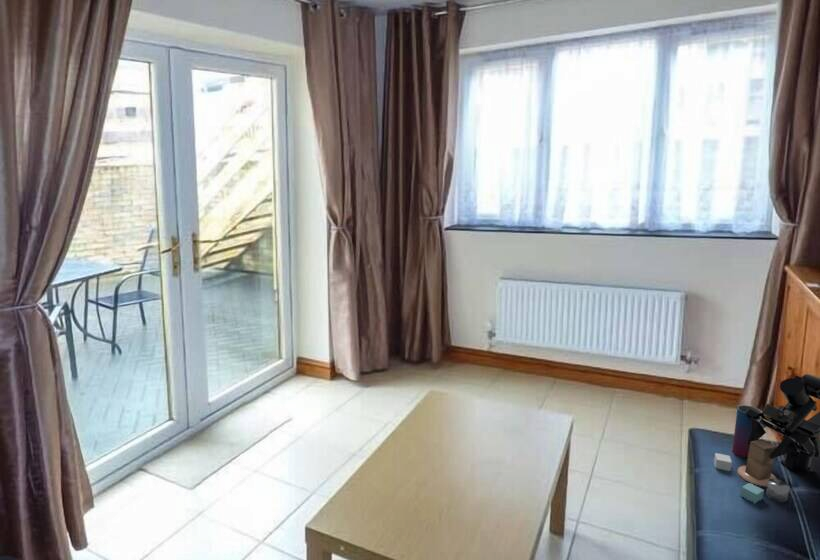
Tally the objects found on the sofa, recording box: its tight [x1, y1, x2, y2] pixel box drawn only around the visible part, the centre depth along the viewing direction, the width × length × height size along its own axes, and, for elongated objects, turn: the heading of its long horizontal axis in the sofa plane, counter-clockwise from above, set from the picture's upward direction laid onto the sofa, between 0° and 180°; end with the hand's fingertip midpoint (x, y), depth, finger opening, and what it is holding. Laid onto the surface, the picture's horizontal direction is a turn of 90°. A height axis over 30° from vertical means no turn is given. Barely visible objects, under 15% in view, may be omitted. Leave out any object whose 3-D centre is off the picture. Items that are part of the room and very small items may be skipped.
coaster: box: [737, 465, 778, 488], centre depth 165 cm, size 10×10×1 cm
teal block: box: [739, 482, 765, 504], centre depth 155 cm, size 4×4×3 cm
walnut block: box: [745, 438, 777, 480], centre depth 164 cm, size 4×4×10 cm
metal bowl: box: [765, 478, 791, 503], centre depth 155 cm, size 5×5×4 cm
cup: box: [732, 404, 763, 458], centre depth 176 cm, size 7×7×15 cm
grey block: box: [713, 452, 733, 472], centre depth 170 cm, size 4×4×3 cm
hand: (758, 451), depth 163 cm, fingers open, 7 cm apart
